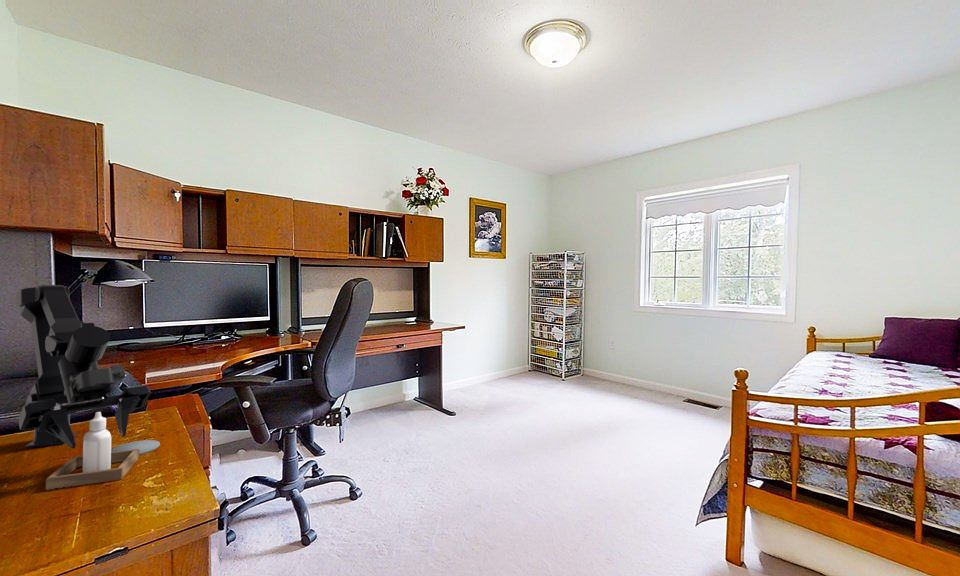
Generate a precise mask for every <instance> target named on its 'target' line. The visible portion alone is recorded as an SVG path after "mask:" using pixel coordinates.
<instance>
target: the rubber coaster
mask: <svg viewBox="0 0 960 576" xmlns="http://www.w3.org/2000/svg"><path fill="white" fill-rule="evenodd" d="M160 445H161V443H160V441H158V440H156V439H155V440H153V439H149V440H148V439H144V440H136V441H131V442H126V443H123V444H120V445H117V446H114V447H113V448H112V447H111V452H117V451H125V450H134V449H139V456H141V455H144V454H148V453H150V452H153V451H155V450H157V449H158V448H159V447H160Z"/></svg>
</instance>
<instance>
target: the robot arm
mask: <svg viewBox="0 0 960 576" xmlns="http://www.w3.org/2000/svg"><path fill="white" fill-rule="evenodd" d="M14 303H15V306H16V307H18V309H19V312H20V313H19V314H20V316H21V317H23V319H24V320H26V321H28V322H29V323H30V324H31V328H32V329H31V330H32V336H33V337H32V338H33V343H34V351H35V359H36V366H37V373H38V374H37V375H38V379H37V381H36V382H35V383H34V385H33V386H32V387H31V389H30V391H29V394H28V396H27V398H26V401H25V404H24V405H23V406H22V409H21V412H20V414H19V418H18V426H19V431H23V432H25V431H26V432H27V431H31V430H34V431H33V441H31V442H29V443H28V444H25V448H26V449H28V448H29V449H30V448H36V447H45V446H46V447H47V446H56V445H63V444H65V445H67V446H68V447H69V448H71V449H75V448H76V446H77V443H76V438H75V436H76V435H77V432H73V430H72V427H71V420H70V419H71V414H79V413H81V412H86V411H87V412H88V411H91V410H96V409H98V410H99V409H103V408H108V407H113V406H115V407H116V411H115V414H114V417H115V422H116V425H117V428H118V432H119V435H120V436H121V437H123V438H124V437H125V436H126V434H127V429H128V423H129V419H130V418H129V417H130V414H132V413H133V412H134V411H135V410H140V409H142V408H144V407H145V405H146V403H147V402H148V399H149V398H150V396H151V394H152V391H151V389H150V387H149V386H148V385H146V384H139V385H132V386H127V387H124V388H123V391H122V393H121V394H117V395H111V396H108V394H109V393H111V392H112V386H111V385H114V384H115V382H121V381H123V379H125V376H126V374H125V369H124V366H123V364H113V365H110V367H107V368H106V367H105V368H99V367H100V366H99V364H98V362H97V361H101V360H102V358H103V356H104V354H105V352H106V349H107V347H108V345H109V342H110V340H111V333H110V332H109V331H107V330H106V329H105V328H104V327H101V326H100V327H99V326H96V325H95V323H94V322H85V321H81V320H80V319H79V317H78V315H77V313H76V310H75V308H74V306H73V304H72V301H71V299H70V289H69V288H68V286H64V285H63V284H62V285H60V284H58V285H57V284H41V285H37V286H35V287H23V288H21V289H19V290H18V291H16V293H15V298H14Z"/></svg>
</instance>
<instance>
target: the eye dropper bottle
mask: <svg viewBox="0 0 960 576" xmlns="http://www.w3.org/2000/svg"><path fill="white" fill-rule="evenodd" d="M88 428H89V431H87V432H86V433H84V435H83V444H82V456H83V467H82V473H84V472H92V471H99V470H106V469H112V468H111V467H112V466H111V465H112V463H111V449H112V434H111V432H110V430H108V429H107V418H106V417H104V416H102V412H101V411H97V412H95V415H94V417H93V418H92V419H90V420H89V427H88Z"/></svg>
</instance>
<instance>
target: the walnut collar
mask: <svg viewBox="0 0 960 576" xmlns="http://www.w3.org/2000/svg"><path fill="white" fill-rule="evenodd" d="M139 458H140V455H139V449H134V450H125V451H117V452H111V464H113V463H114V464H115V463H120V462H122V463H121V464H119V466H118V467H116V468H111V469H106V470H99V471H92V472H84V473H83V472H76V473H72V472H73V471H74V470H75V469H77V468H83V455H77V456H76V455H75V456H72V457H71V458H70V459H69V460H68V461H66V462H65V463H64V464H63V465H61V466H60V467H59V468H58V469H56V470H55V471H54V472H53V473H51V475H49V476H48V477H47V478H45V490H46V491H49V490H50V489H51V490H56V489H55V488H58V489H63V487H65V488H69V487H70V488H71V486H72V487H78V485H79V486H83V485H92V484H98V483H99V484H100V483H106V482H111V481H118V480H122V479H123V478H124V477H126V475H127V473H128V472H129V471H130V470H131V468H133V467H134V465H135V463H136V462H137V461H138V460H139ZM51 490H50V491H51Z"/></svg>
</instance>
